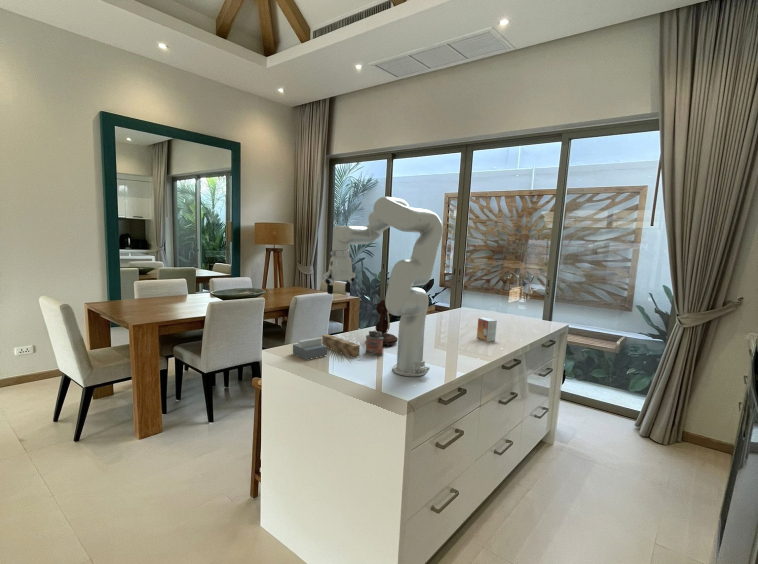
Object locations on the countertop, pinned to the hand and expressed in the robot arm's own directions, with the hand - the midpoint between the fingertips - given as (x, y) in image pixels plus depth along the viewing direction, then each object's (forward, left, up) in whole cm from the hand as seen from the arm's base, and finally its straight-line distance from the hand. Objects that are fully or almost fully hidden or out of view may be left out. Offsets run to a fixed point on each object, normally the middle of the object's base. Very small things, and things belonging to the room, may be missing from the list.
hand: (339, 293), depth 174 cm
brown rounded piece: (-7, -21, -24) cm, 33 cm away
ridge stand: (-4, +17, -24) cm, 30 cm away
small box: (-32, -71, -24) cm, 82 cm away
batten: (-6, +3, -25) cm, 25 cm away
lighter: (-18, -6, -24) cm, 31 cm away
